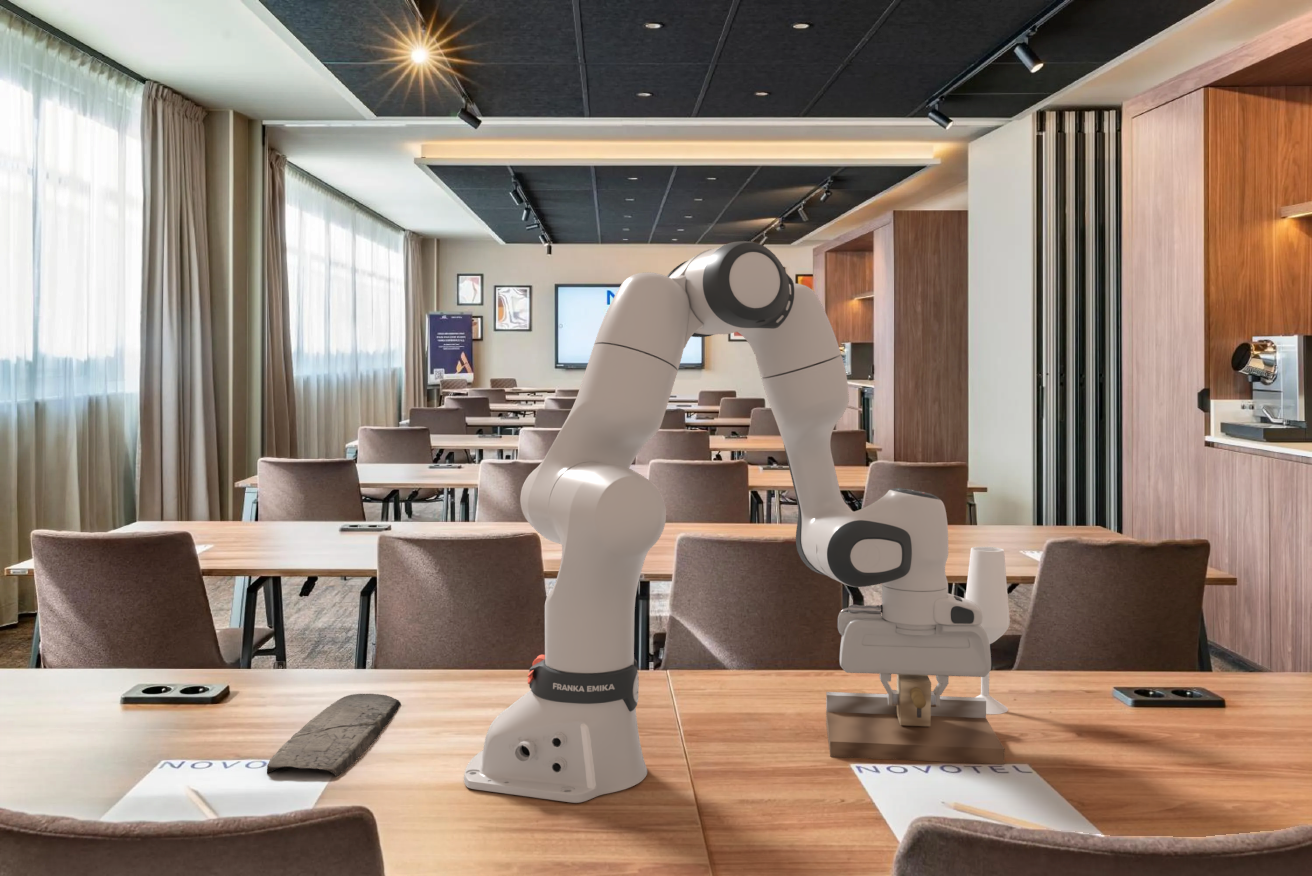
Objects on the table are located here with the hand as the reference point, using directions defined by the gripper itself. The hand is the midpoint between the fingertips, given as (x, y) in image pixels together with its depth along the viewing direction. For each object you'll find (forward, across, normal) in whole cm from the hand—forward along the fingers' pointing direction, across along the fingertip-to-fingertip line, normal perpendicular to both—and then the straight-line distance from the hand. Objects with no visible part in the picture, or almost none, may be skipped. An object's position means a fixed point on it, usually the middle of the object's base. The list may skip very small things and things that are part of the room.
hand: (913, 705), depth 143 cm
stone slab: (+5, -78, -10) cm, 79 cm away
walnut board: (+4, -1, -3) cm, 5 cm away
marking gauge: (+2, 0, -2) cm, 3 cm away
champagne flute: (+5, +12, +14) cm, 19 cm away
